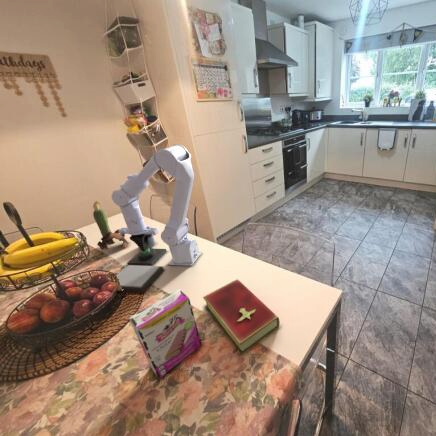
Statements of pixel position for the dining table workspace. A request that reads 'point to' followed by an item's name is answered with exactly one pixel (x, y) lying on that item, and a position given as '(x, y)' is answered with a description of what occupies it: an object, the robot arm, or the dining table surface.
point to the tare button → (145, 252)
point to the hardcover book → (241, 315)
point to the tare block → (147, 257)
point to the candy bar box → (167, 332)
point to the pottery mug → (109, 238)
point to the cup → (151, 241)
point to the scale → (138, 277)
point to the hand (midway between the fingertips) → (145, 249)
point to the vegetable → (101, 219)
